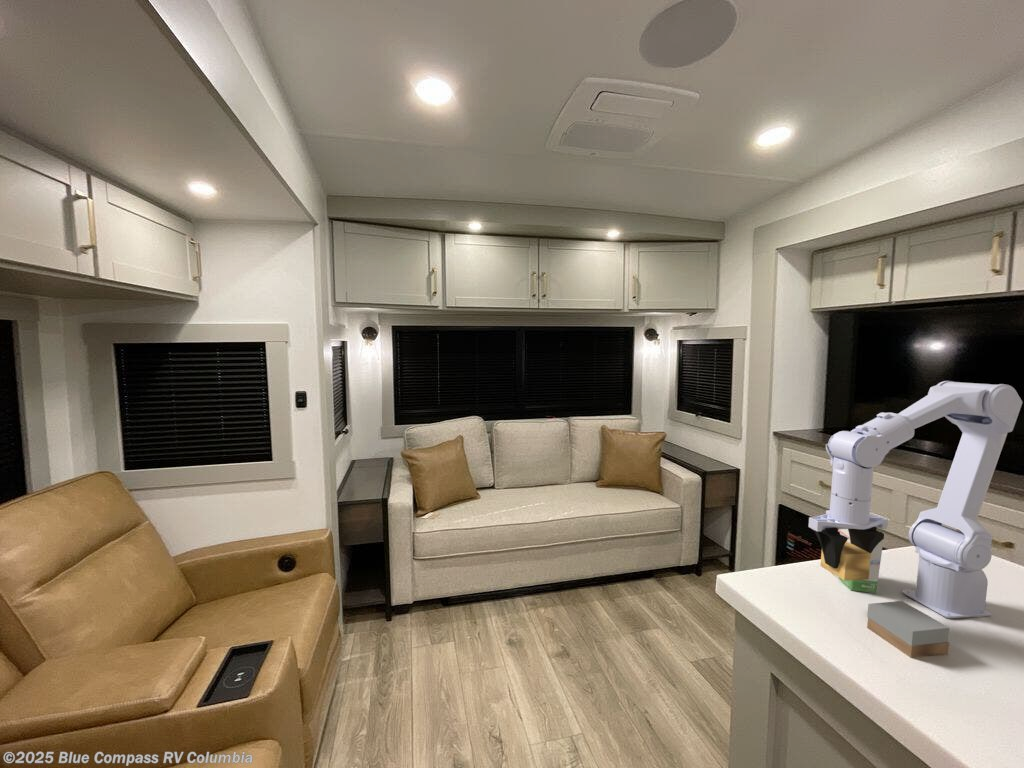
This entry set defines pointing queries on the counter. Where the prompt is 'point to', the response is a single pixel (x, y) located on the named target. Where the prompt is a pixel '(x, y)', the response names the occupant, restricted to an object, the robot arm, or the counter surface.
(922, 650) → the walnut slab
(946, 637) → the slate-grey slab
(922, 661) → the counter surface
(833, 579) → the counter surface
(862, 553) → the ochre cube
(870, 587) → the ink box
